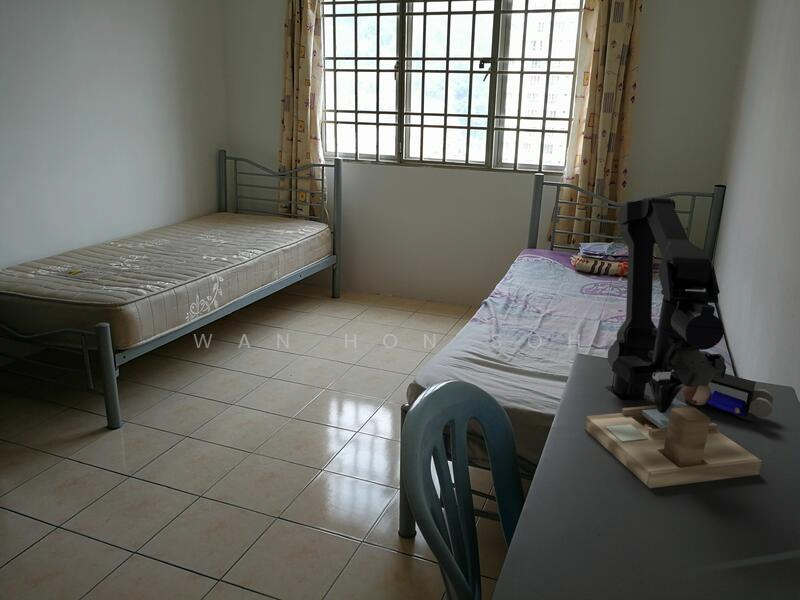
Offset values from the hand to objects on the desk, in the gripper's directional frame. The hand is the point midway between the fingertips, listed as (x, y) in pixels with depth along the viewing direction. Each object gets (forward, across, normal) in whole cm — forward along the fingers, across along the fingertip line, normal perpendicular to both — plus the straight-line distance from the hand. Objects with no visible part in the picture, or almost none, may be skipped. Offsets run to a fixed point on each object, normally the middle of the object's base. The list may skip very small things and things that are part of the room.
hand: (661, 412), depth 112 cm
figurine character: (+5, +20, +7) cm, 22 cm away
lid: (+2, +2, 0) cm, 3 cm away
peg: (+4, -4, -11) cm, 12 cm away
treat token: (+4, -1, 0) cm, 4 cm away
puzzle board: (+5, -2, -5) cm, 7 cm away
